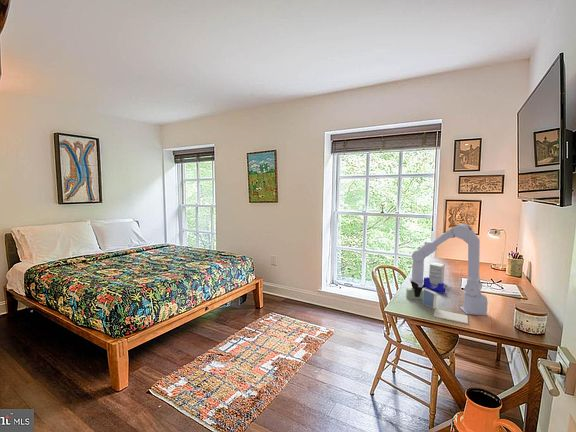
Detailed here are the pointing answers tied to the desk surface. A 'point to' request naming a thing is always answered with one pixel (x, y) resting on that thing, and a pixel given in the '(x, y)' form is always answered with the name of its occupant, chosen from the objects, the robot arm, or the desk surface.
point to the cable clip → (437, 289)
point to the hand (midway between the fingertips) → (416, 295)
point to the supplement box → (436, 273)
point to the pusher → (413, 294)
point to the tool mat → (451, 316)
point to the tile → (429, 298)
